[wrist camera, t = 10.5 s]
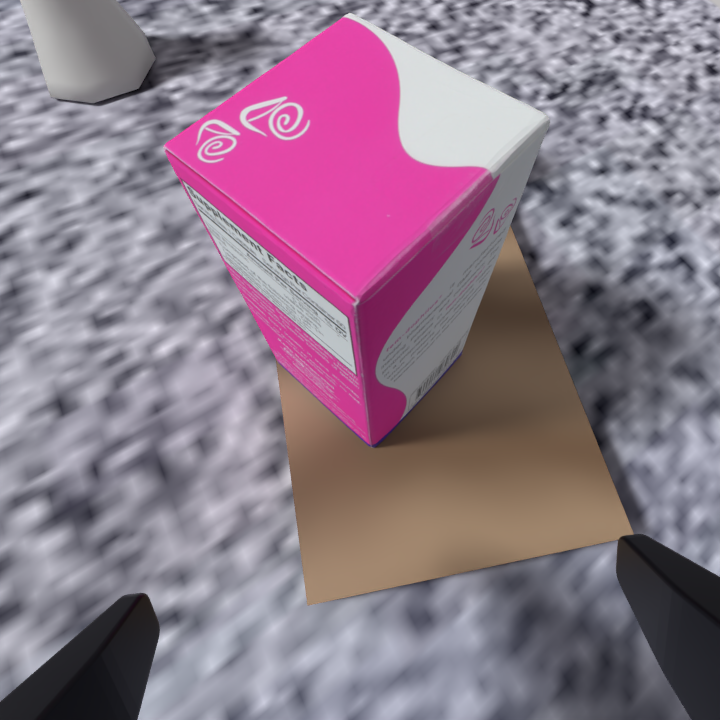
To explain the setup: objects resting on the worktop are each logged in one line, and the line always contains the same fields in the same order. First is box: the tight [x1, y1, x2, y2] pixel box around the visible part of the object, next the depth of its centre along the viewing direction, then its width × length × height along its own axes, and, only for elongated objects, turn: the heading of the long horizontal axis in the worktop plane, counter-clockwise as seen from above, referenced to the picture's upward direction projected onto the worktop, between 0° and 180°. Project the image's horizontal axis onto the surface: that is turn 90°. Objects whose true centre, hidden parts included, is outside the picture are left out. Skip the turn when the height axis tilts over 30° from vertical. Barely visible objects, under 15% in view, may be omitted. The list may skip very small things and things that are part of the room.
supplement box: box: [163, 13, 550, 448], centre depth 14 cm, size 6×6×12 cm
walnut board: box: [276, 226, 634, 605], centre depth 19 cm, size 20×12×4 cm, turn 11°
